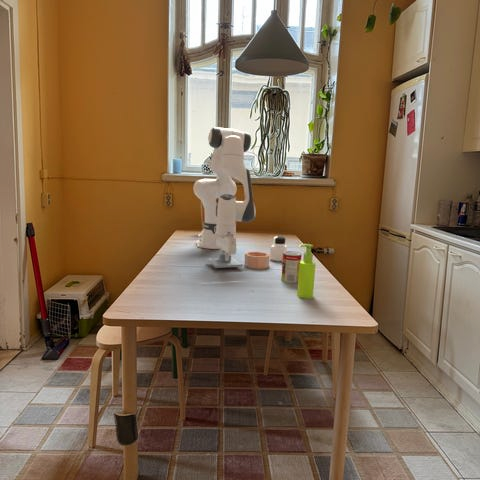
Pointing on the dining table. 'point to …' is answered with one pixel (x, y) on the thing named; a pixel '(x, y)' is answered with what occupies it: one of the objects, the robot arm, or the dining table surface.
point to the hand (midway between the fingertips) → (224, 259)
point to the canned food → (291, 266)
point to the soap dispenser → (306, 274)
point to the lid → (224, 262)
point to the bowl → (257, 260)
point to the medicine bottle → (278, 249)
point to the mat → (225, 269)
